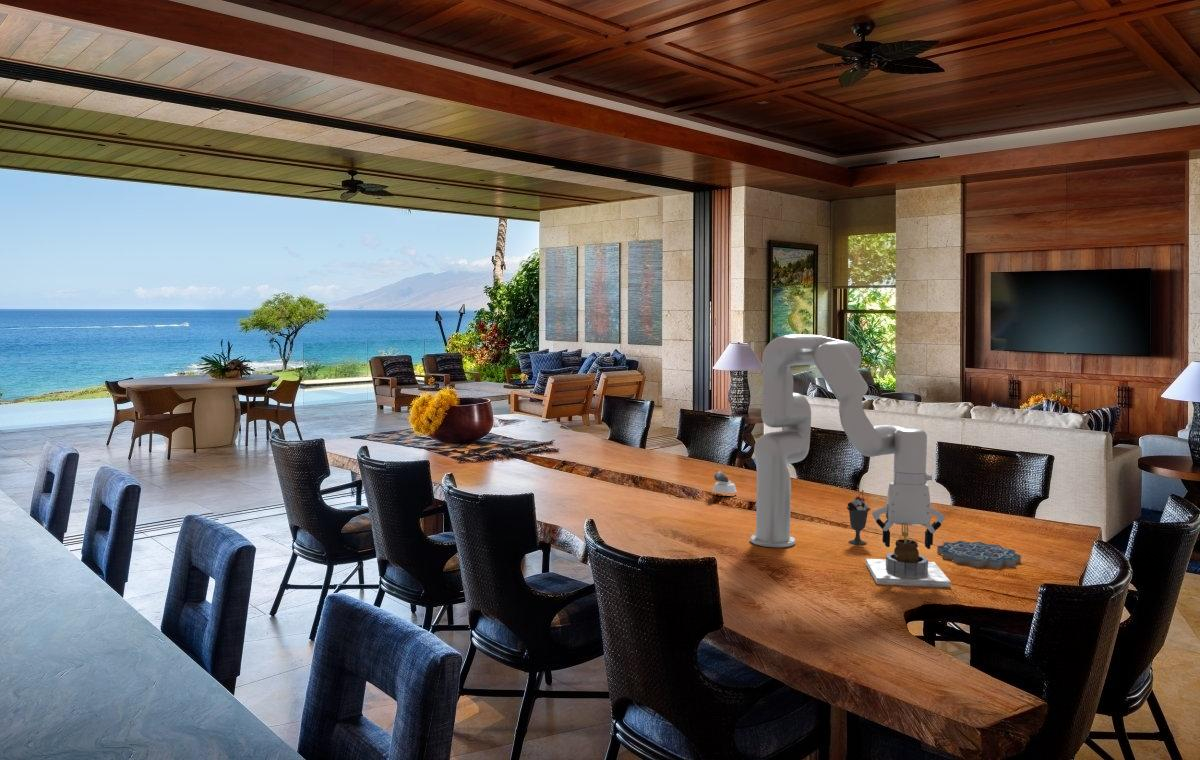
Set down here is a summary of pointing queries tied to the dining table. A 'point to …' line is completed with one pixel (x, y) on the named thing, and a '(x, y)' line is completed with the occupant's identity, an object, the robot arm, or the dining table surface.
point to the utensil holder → (906, 548)
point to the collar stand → (907, 572)
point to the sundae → (858, 517)
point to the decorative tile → (979, 554)
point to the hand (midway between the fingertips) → (907, 546)
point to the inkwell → (723, 484)
